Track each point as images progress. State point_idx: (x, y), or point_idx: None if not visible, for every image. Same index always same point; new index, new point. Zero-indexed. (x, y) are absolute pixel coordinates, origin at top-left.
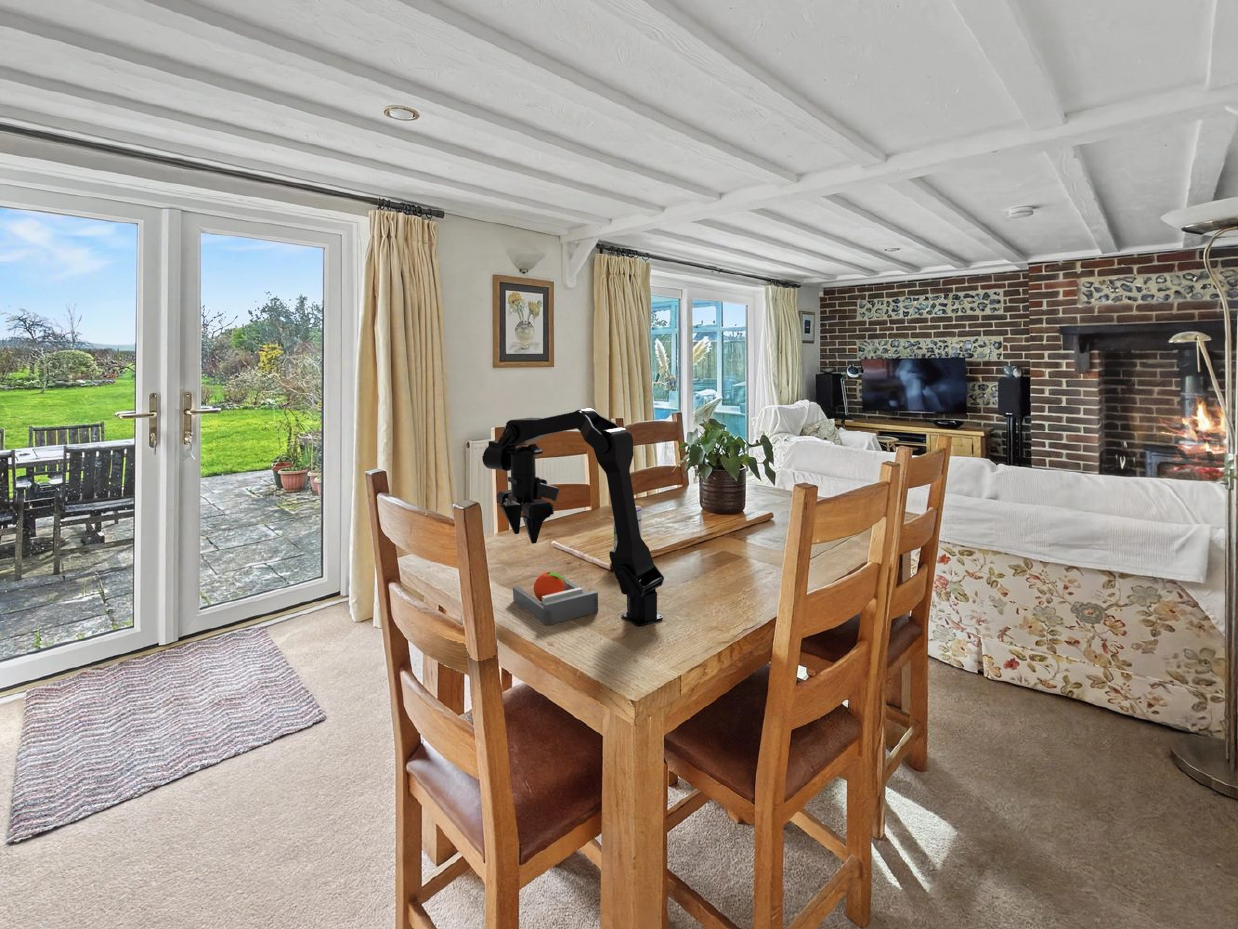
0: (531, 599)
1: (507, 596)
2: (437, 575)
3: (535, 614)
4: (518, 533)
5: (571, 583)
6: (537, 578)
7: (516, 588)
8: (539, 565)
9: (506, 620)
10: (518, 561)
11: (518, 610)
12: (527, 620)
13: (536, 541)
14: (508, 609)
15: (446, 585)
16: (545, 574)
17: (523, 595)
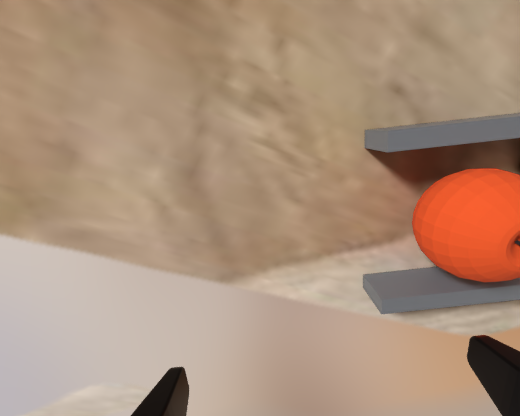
0: (508, 297)
1: (322, 290)
2: (76, 398)
3: None
4: (183, 370)
5: (484, 128)
6: (483, 278)
7: (398, 308)
8: (77, 105)
9: (462, 331)
10: (2, 164)
11: None
12: None
13: (497, 342)
14: None
15: None
16: (514, 257)
17: (456, 304)
